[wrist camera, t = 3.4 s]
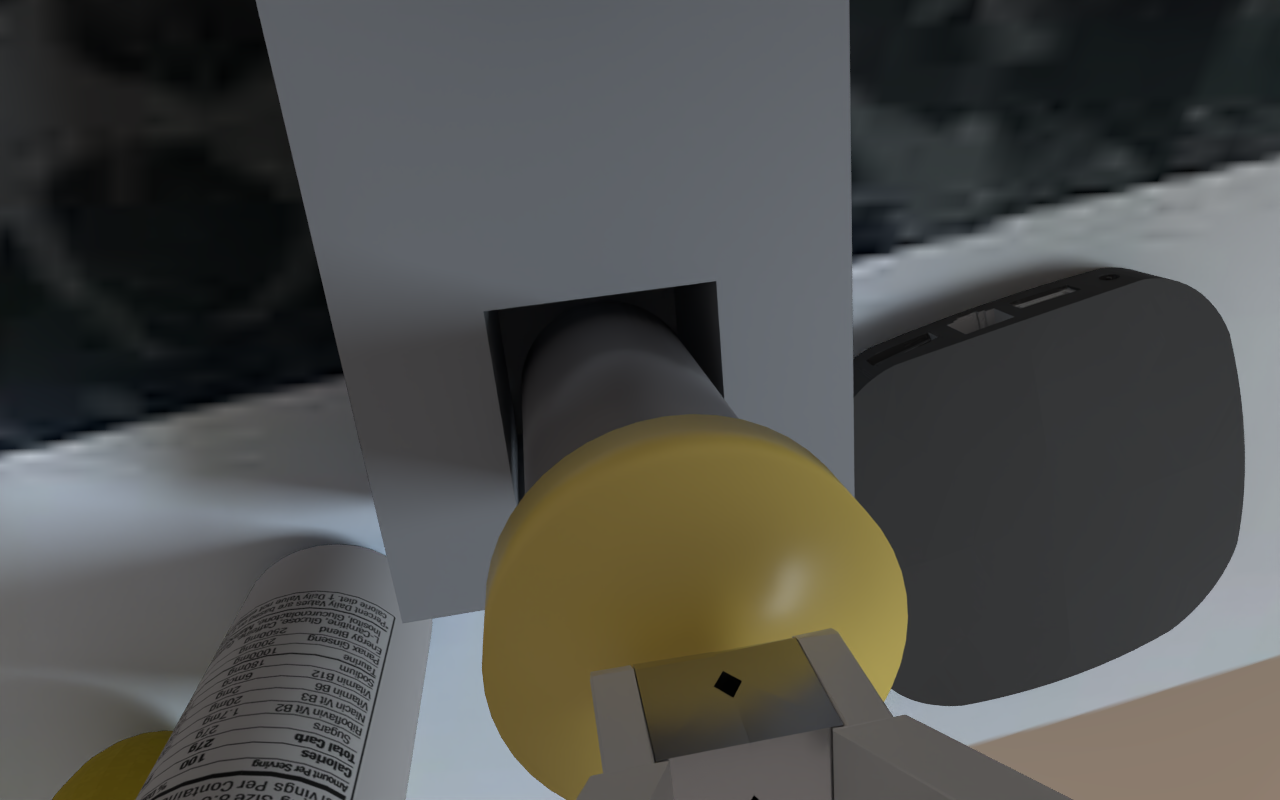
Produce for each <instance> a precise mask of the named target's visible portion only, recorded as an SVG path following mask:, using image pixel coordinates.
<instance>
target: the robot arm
mask: <svg viewBox="0 0 1280 800" xmlns="http://www.w3.org/2000/svg"><path fill="white" fill-rule="evenodd" d="M590 684H591V691H592V698H593V705H594V712H595V719H596V726H597V734H598V741H599V748H600V755H601V762H602V769H603V773H602V774H597V775H593V776H590V777H589V779H588V781H587V782H586V784H585V786H584V787H583V789H582V790H581V792H580V794H579V795H578V797H577V799H576V800H1072V799H1071V798H1069V797H1067V796H1065V795H1063V794H1061V793H1059V792H1057V791H1055V790H1053V789H1051V788H1049V787H1047V786H1045V785H1043V784H1041V783H1039V782H1037V781H1035V780H1033V779H1031V778H1029V777H1027V776H1025V775H1023V774H1021V773H1019V772H1017V771H1015V770H1013V769H1011V768H1010V767H1008V766H1005V765H1004V764H1001V763H1000V762H998V761H996V760H993V759H992V758H990V757H988V756H986V755H984V754H982V753H980V752H978V751H976V750H974V749H972V748H970V747H968V746H966V745H964V744H962V743H960V742H958V741H956V740H954V739H952V738H950V737H948V736H946V735H944V734H942V733H941V732H939V731H937V730H935V729H933V728H931V727H929V726H927V725H925V724H923V723H921V722H919V721H917V720H915V719H913V718H911V717H909V716H907V715H901V716H896V717H893V716H892V714H891V712H890V711H889V709H888V708H887V706H886V705H885V703H884V702H883V700H882V699H881V697H880V696H879V694H878V692H877V691H876V689H875V688H874V686H873V685H872V683H871V682H870V680H869V679H868V677H867V676H866V674H865V672H864V671H863V669H862V668H861V666H860V665H859V663H858V662H857V660H856V659H855V657H854V655H853V654H852V652H851V651H850V649H849V648H848V646H847V645H846V643H845V642H844V640H843V639H842V637H841V635H840V634H839V632H838V631H836V630H834V629H832V628H829V629H824V630H820V631H815V632H810V633H805V634H801V635H796V636H792V638H788V639H782V640H777V641H772V642H766V643H761V644H755V645H750V646H745V647H739V648H734V649H729V650H723V651H718V652H708V653H702V654H696V655H689V656H683V657H677V658H670V659H664V660H658V661H651V662H645V663H639V664H633V668H632V667H631V665H628V666H622V667H616V668H610V669H605V670H599V671H593V672H590Z"/></svg>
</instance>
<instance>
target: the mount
mask: <svg viewBox="0 0 1280 800" xmlns="http://www.w3.org/2000/svg"><path fill="white" fill-rule="evenodd" d="M256 4H257V8H258V12H259V17H260V21H261V25H262V29H263V34H264V38H265V42H266V46H267V51H268V55H269V59H270V63H271V68H272V72H273V76H274V80H275V85H276V89H277V93H278V97H279V101H280V106H281V110H282V114H283V118H284V123H285V127H286V131H287V135H288V140H289V144H290V148H291V152H292V157H293V161H294V165H295V169H296V174H297V178H298V182H299V186H300V191H301V195H302V199H303V203H304V208H305V212H306V216H307V220H308V225H309V229H310V233H311V237H312V241H313V246H314V250H315V254H316V258H317V263H318V267H319V271H320V275H321V280H322V284H323V288H324V292H325V297H326V301H327V305H328V309H329V314H330V318H331V322H332V326H333V331H334V335H335V339H336V343H337V348H338V352H339V356H340V360H341V364H342V369H343V373H344V377H345V381H346V386H347V390H348V394H349V398H350V403H351V407H352V411H353V415H354V420H355V424H356V428H357V432H358V437H359V441H360V445H361V449H362V454H363V458H364V462H365V466H366V471H367V475H368V479H369V483H370V487H371V492H372V496H373V500H374V504H375V509H376V513H377V517H378V521H379V526H380V530H381V534H382V538H383V543H384V547H385V551H386V555H387V560H388V564H389V568H390V572H391V577H392V581H393V585H394V589H395V594H396V598H397V602H398V606H399V610H400V615H401V619H402V623H409V622H415V621H421V620H427V619H433V618H439V617H445V616H451V615H457V614H462V613H468V612H474V611H480V610H485V599H486V583H487V577H488V572H489V567H490V562H491V558H492V555H493V553H494V550H495V547H496V544H497V541H498V538H499V536H500V534H501V532H502V530H503V528H504V527H505V525H506V523H507V521H508V519H509V517H510V515H511V514H512V512H513V511H514V509H515V508H516V507H517V505H518V504H519V502H520V501H521V499H522V498H523V497H524V495H525V481H524V451H523V421H522V391H521V382H522V372H523V367H524V363H525V360H526V357H527V354H528V352H529V350H530V348H531V346H532V344H533V342H534V341H535V339H536V338H537V336H538V335H539V334H540V333H541V332H542V330H543V329H544V328H545V327H546V326H547V325H548V324H549V323H551V322H552V321H553V320H554V319H555V318H557V317H558V316H560V315H561V314H563V313H564V312H567V311H569V310H571V309H573V308H575V307H578V306H581V305H584V304H588V303H593V302H599V301H618V302H624V303H629V304H633V305H636V306H639V307H642V308H644V309H646V310H648V311H650V312H651V313H653V314H654V315H656V316H657V317H659V318H660V319H661V320H663V321H664V322H665V323H666V324H667V325H668V326H669V327H670V328H671V330H672V331H673V332H674V333H675V334H676V336H677V337H678V338H679V340H680V341H681V342H682V344H683V345H684V346H685V348H686V349H687V350H688V352H689V353H690V354H691V356H692V357H693V358H694V360H695V361H696V362H697V364H698V365H699V366H700V368H701V369H702V370H703V372H704V373H705V374H706V376H707V377H708V378H709V380H710V381H711V382H712V384H713V385H714V386H715V388H716V389H717V390H718V392H719V393H720V394H721V396H722V397H723V398H724V400H725V401H726V402H727V404H728V405H729V406H730V408H731V409H732V410H733V412H734V413H735V414H736V416H737V417H738V418H739V419H743V420H746V421H749V422H752V423H756V424H759V425H762V426H765V427H768V428H770V429H772V430H774V431H776V432H778V433H781V434H783V435H785V436H787V437H789V438H790V439H792V440H794V441H795V442H797V443H798V444H800V445H801V446H803V447H804V448H806V449H807V450H809V451H810V452H811V453H812V454H813V455H814V456H815V457H816V458H818V459H819V460H820V461H821V462H822V463H823V464H824V465H825V466H826V467H827V468H828V469H829V470H830V471H831V472H832V473H833V475H834V476H835V477H836V478H837V479H838V480H839V481H840V482H841V483H842V485H843V486H844V487H845V488H846V489H847V490H848V491H849V492H850V493H851V495H852V496H853V497H854V498H855V492H854V399H853V307H852V215H851V122H850V30H849V0H256Z"/></svg>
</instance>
